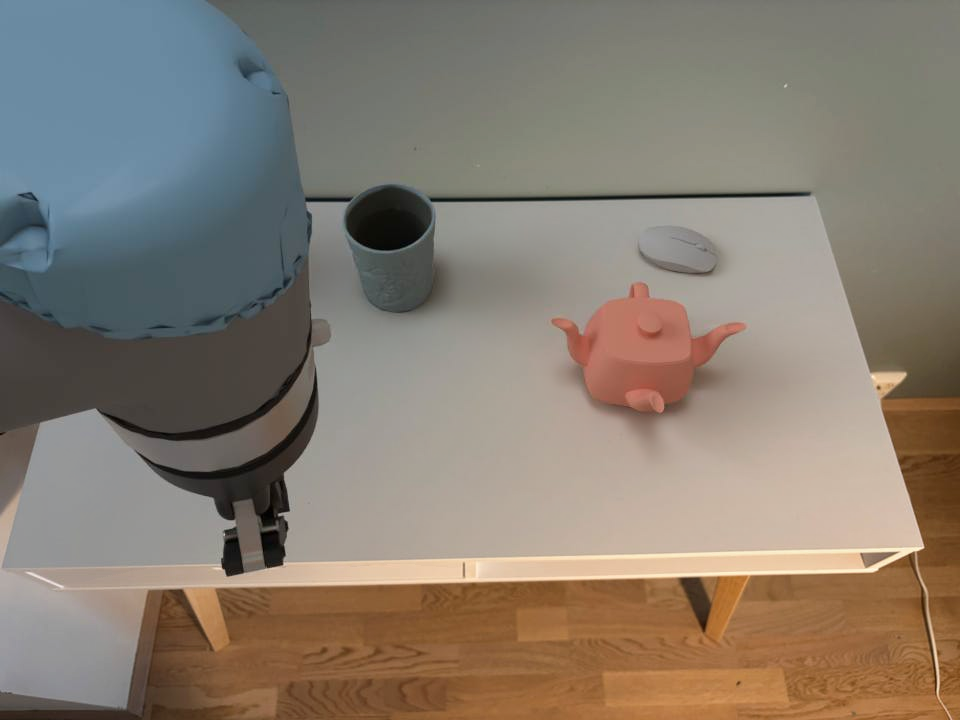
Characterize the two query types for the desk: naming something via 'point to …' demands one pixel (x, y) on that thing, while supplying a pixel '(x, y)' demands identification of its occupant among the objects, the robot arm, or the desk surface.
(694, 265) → the computer mouse
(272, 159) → the robot arm
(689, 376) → the teapot
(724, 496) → the desk surface
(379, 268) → the grey-blue ceramic planter
